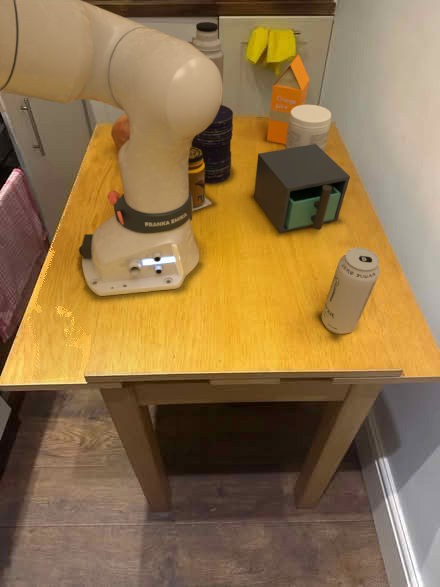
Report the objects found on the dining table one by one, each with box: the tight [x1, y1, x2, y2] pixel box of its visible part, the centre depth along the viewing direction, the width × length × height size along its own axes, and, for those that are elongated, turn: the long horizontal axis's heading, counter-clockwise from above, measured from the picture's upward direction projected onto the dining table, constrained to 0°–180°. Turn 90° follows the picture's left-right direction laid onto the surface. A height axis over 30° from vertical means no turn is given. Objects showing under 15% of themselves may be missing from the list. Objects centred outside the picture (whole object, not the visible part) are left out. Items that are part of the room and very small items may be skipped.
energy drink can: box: [321, 246, 381, 335], centre depth 64 cm, size 6×6×15 cm
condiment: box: [188, 146, 213, 211], centre depth 88 cm, size 7×8×12 cm
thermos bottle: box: [191, 21, 225, 105], centre depth 101 cm, size 8×8×28 cm
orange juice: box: [266, 53, 310, 145], centre depth 108 cm, size 8×9×20 cm
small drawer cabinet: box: [253, 144, 351, 234], centre depth 88 cm, size 14×14×11 cm
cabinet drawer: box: [285, 183, 341, 231], centre depth 86 cm, size 16×11×10 cm
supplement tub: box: [284, 104, 332, 153], centre depth 98 cm, size 10×10×15 cm
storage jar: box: [191, 104, 234, 185], centre depth 96 cm, size 10×10×15 cm
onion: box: [110, 112, 130, 150], centre depth 104 cm, size 10×10×10 cm
